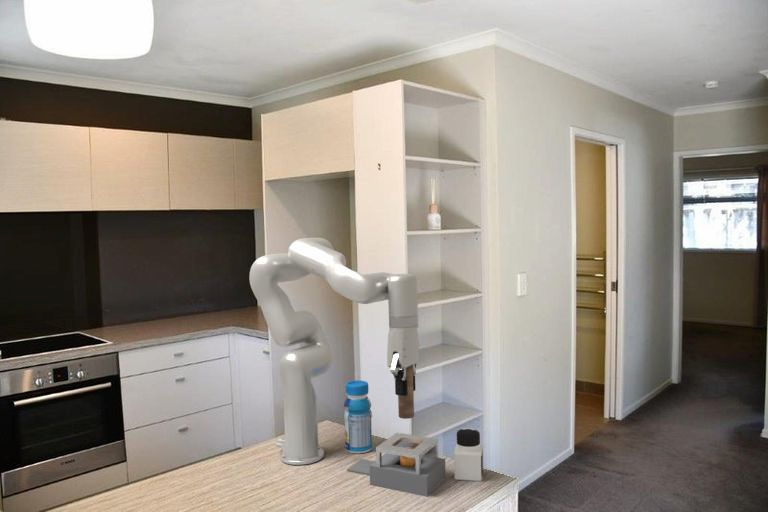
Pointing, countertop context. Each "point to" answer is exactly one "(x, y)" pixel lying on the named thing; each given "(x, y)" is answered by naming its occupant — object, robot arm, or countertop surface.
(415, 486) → the box
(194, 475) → the countertop surface
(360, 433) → the beverage bottle
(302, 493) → the countertop surface
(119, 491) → the countertop surface
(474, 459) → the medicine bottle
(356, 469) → the pad
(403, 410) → the brown rod
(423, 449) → the frame
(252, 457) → the countertop surface
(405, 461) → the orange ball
